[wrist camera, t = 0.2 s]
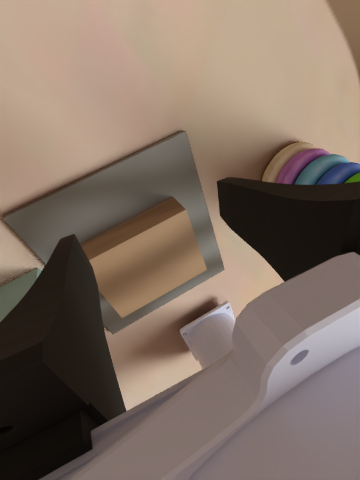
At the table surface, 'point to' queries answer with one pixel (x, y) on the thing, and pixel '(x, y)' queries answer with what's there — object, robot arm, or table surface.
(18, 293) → the teal brick
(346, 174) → the stacking toy
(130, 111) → the table surface
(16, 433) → the robot arm
